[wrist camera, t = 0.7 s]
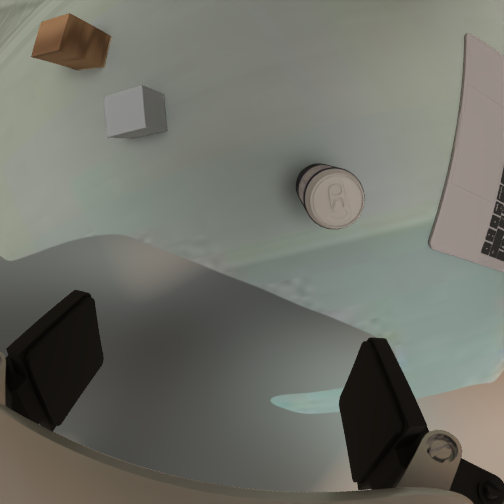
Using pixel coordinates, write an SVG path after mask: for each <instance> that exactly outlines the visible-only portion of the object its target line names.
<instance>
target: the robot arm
mask: <svg viewBox="0 0 504 504" xmlns="http://www.w3.org/2000/svg"><path fill="white" fill-rule="evenodd" d="M7 352H8V356H7V357H6V358H5V356H4V355H3V353H1V352H0V504H504V483H503V481H502V480H501V479H500V478H499V477H497V476H496V475H494V474H492V473H490V472H488V471H485V470H484V469H482V468H479V467H478V466H476V465H474V464H472V463H469V462H468V461H466V460H464V459H462V458H461V456H462V447H461V444H460V443H459V441H458V439H457V438H456V437H455V436H453V435H452V434H450V433H449V432H446V431H443V430H434V431H430V432H429V430H428V428H427V424H426V422H425V420H424V417H423V415H422V413H421V410H420V408H419V406H418V404H417V402H416V399H415V397H414V395H413V393H412V391H411V388H410V386H409V384H408V382H407V380H406V378H405V376H404V374H403V372H402V370H401V368H400V366H399V363H398V361H397V359H396V357H395V355H394V353H393V351H392V349H391V347H390V345H389V344H388V342H387V340H386V339H384V338H369V339H368V340H367V341H364V342H363V343H362V345H361V347H360V350H359V352H358V355H357V358H356V360H355V363H354V365H353V368H352V370H351V373H350V375H349V378H348V380H347V382H346V385H345V387H344V389H343V391H342V394H341V396H340V400H339V408H340V413H341V417H342V423H343V428H344V434H345V439H346V445H347V450H348V456H349V462H350V468H351V474H352V479H353V482H357V484H358V490H364V491H347V492H284V491H267V490H256V489H246V488H238V487H231V486H224V485H218V484H212V483H206V482H201V481H196V480H191V479H186V478H182V477H178V476H173V475H169V474H165V473H162V472H158V471H154V470H150V469H147V468H144V467H140V466H137V465H134V464H131V463H128V462H125V461H122V460H119V459H116V458H113V457H111V456H108V455H105V454H103V453H100V452H97V451H95V450H92V449H90V448H87V447H85V446H83V445H80V444H78V443H76V442H73V441H71V440H69V439H67V438H65V437H63V436H60V435H58V434H56V433H54V432H53V430H54V429H55V427H56V426H59V425H61V423H62V422H63V421H64V419H65V417H66V416H67V415H68V413H69V412H70V410H71V408H72V407H73V406H74V404H75V403H76V401H77V400H78V398H79V397H80V395H81V394H82V393H83V391H84V390H85V388H86V387H87V385H88V384H89V383H90V381H91V380H92V378H93V377H94V376H95V374H96V372H97V371H98V370H99V369H100V367H101V366H102V363H103V352H102V347H101V341H100V335H99V329H98V323H97V315H96V308H95V301H94V299H93V298H91V295H90V294H89V293H86V292H83V291H79V290H74V291H73V292H71V293H70V294H69V295H68V296H67V297H65V298H64V299H63V300H62V301H61V302H60V303H58V304H57V305H56V306H54V307H53V308H52V309H51V310H50V311H48V312H47V313H46V314H45V315H44V316H43V317H41V318H40V319H39V320H38V321H37V322H36V323H35V324H33V325H32V326H31V327H30V328H29V329H28V330H27V331H25V333H23V334H22V335H21V336H20V337H19V338H18V339H17V340H15V341H14V342H13V343H12V344H11V345H10V346H9V347H8V348H7ZM39 423H40V425H41V426H40V425H39ZM365 489H372V490H365Z"/></svg>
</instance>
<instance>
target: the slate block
mask: <svg viewBox="0 0 504 504" xmlns="http://www.w3.org/2000/svg"><path fill="white" fill-rule="evenodd" d="M104 107H105V120H106V131H107V138H137V137H141V136H146V135H150V134H155V133H159V132H164V131H167V123H166V113H165V103H164V95H163V94H161V93H159V92H156V91H154V90H152V89H150V88H148V87H145V86H143V85H140V86H137V87H133V88H130V89H127V90H123V91H120V92H117V93H114V94H111V95H108V96H105V97H104Z"/></svg>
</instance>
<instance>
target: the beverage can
mask: <svg viewBox="0 0 504 504" xmlns="http://www.w3.org/2000/svg"><path fill="white" fill-rule="evenodd" d="M296 191H297V194H298V197H299V199H300V200H301V202H302V204H303V206H304V208H305V210H306V211H307V213H308V215H309V217H310V218H311V219H312V220H313V221H314V222H315V223H316V224H318V225H319V226H321V227H324V228H327V229H341V228H344V227H347V226H349V225H351V224H352V223H354V222H355V221H356V220H357V219H358V218H359V216H360V215H361V213H362V210H363V207H364V191H363V187H362V185H361V183H360V181H359V180H358V179H357V178H356V176H355V175H353V174H352V173H351V172H349V171H347V170H345V169H342V168H338V167H333V166H329V165H325V164H313V165H310V166H308V167H306V168H305V169H304V170H303V171H302V172H301V173H300V174H299V176H298V179H297V182H296Z"/></svg>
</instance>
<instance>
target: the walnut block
mask: <svg viewBox="0 0 504 504" xmlns="http://www.w3.org/2000/svg"><path fill="white" fill-rule="evenodd" d="M111 38H112V37H111V36H109V35H108V34H106V33H104V32H103V31H101V30H99V29H97V28H96V27H94V26H92V25H90V24H89V23H87V22H85V21H83V20H81V19H79V18H78V17H76V16H74V15H72V14H70V13H69V14H66V15H62V16H59V17H55V18H52V19H49V20H46V21H43V22H41V25H40V28H39V31H38V34H37V38H36V41H35V45H34V48H33V52H32V56H31V57H33V58H37V59H41V60H45V61H48V62H52V63H55V64H59V65H62V66H66V67H69V68H72V69H76V70H84V69H92V68H101V67H105V63H106V58H107V54H108V50H109V46H110V42H111Z"/></svg>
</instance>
